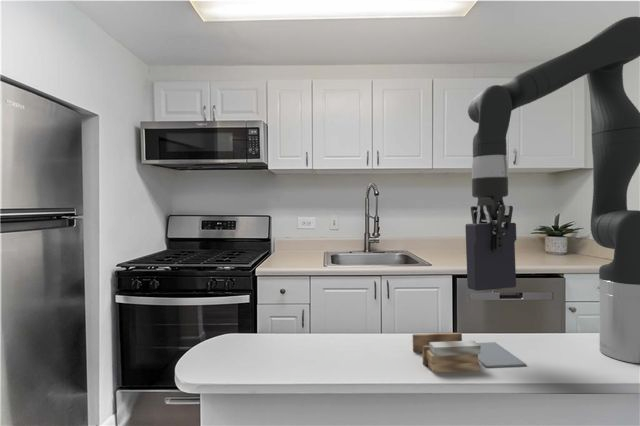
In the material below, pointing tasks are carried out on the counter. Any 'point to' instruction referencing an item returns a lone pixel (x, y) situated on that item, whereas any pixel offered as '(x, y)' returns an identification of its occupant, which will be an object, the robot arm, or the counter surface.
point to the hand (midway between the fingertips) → (490, 249)
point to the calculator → (489, 258)
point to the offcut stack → (453, 356)
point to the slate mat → (497, 356)
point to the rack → (423, 341)
